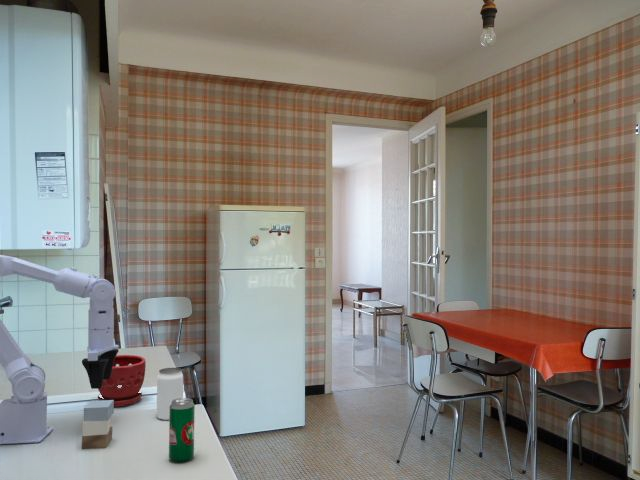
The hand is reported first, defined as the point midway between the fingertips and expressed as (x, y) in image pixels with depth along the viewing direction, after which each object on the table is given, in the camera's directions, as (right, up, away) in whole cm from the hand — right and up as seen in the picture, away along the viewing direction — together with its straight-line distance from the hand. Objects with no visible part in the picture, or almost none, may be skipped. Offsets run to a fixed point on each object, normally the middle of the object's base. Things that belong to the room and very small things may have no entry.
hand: (100, 383), depth 120 cm
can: (+15, -11, +7) cm, 20 cm away
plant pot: (-3, -11, +18) cm, 21 cm away
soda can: (+25, -11, -17) cm, 32 cm away
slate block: (+4, -5, -10) cm, 12 cm away
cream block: (+4, -8, -11) cm, 14 cm away
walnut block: (+4, -11, -11) cm, 15 cm away
